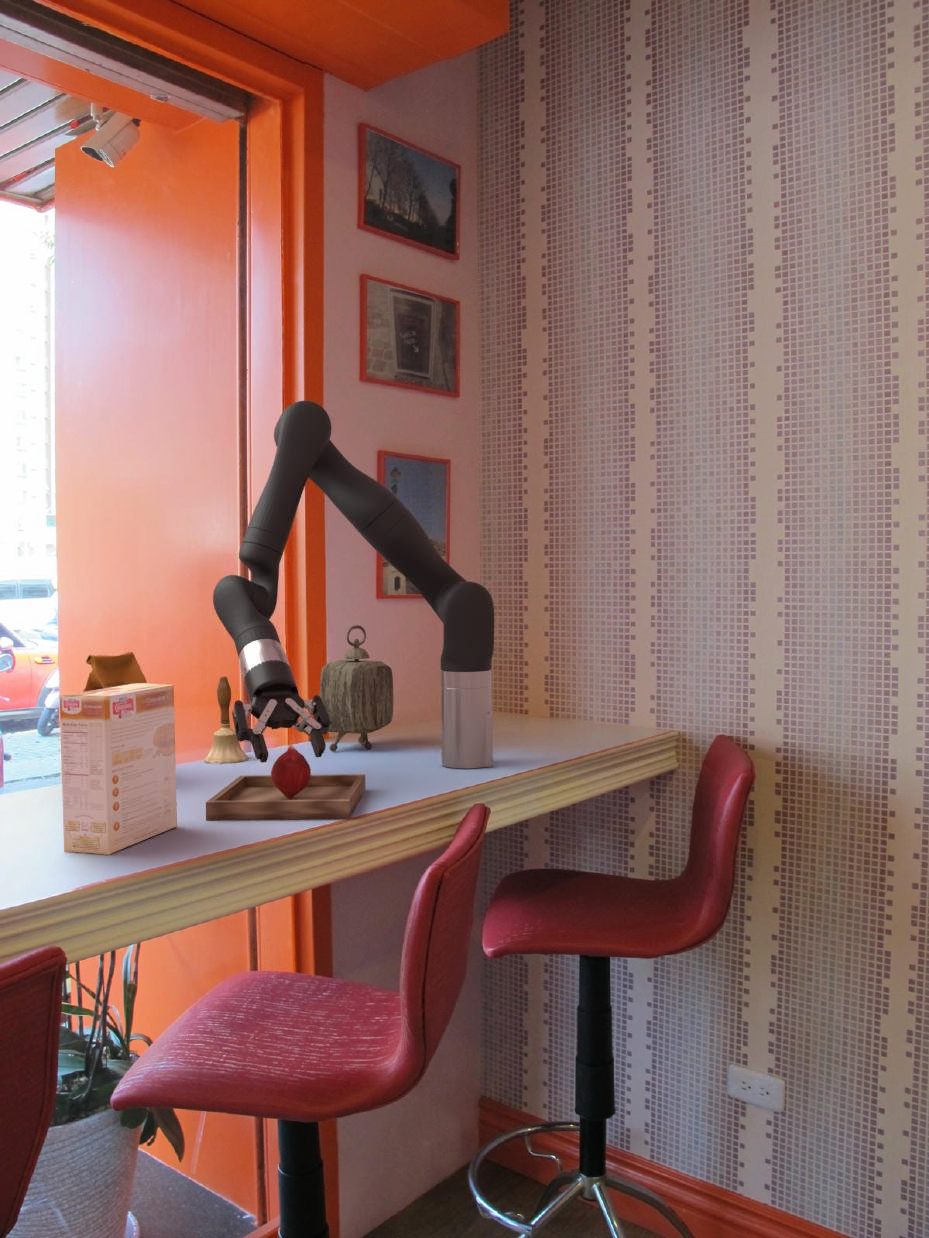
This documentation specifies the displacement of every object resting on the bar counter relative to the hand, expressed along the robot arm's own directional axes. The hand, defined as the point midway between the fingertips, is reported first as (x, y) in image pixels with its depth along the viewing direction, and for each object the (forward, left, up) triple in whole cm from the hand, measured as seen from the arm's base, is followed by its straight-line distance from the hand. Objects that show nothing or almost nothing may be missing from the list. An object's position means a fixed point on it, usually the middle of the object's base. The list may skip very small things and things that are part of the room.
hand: (293, 756), depth 145 cm
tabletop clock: (-3, -53, -7) cm, 54 cm away
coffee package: (+34, -18, -8) cm, 39 cm away
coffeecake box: (+19, +19, -8) cm, 28 cm away
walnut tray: (+1, -1, -7) cm, 7 cm away
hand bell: (+21, -41, -8) cm, 47 cm away
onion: (+1, -1, -7) cm, 7 cm away
